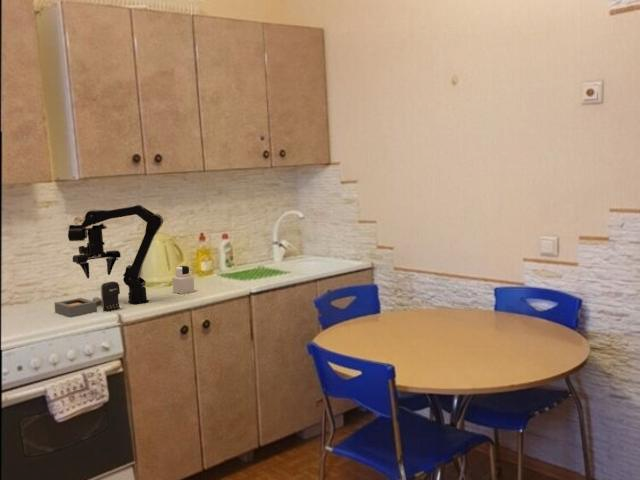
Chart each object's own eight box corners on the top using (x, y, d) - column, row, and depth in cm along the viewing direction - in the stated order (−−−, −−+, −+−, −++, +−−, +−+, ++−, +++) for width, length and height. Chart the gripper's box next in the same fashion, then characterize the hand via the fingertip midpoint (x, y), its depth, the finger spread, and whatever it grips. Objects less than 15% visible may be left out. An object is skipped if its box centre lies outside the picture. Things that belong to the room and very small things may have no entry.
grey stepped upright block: (186, 290, 284) (184, 264, 283) (194, 291, 279) (193, 265, 278) (172, 292, 279) (171, 266, 278) (181, 294, 274) (179, 268, 273)
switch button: (78, 308, 250) (78, 302, 250) (85, 309, 246) (84, 304, 246) (66, 310, 247) (66, 304, 246) (73, 312, 243) (72, 306, 242)
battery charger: (107, 312, 244) (104, 284, 243) (101, 311, 247) (99, 283, 245) (122, 308, 250) (120, 281, 248) (117, 307, 252) (115, 280, 251)
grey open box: (81, 307, 255) (80, 297, 255) (97, 311, 246) (96, 302, 245) (55, 312, 247) (54, 302, 247) (70, 317, 238) (69, 307, 237)
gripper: (107, 236, 268) (110, 271, 270) (65, 241, 255) (68, 278, 257) (119, 238, 260) (122, 274, 262) (77, 243, 247) (80, 280, 249)
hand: (98, 276), depth 258 cm, fingers open, 9 cm apart
